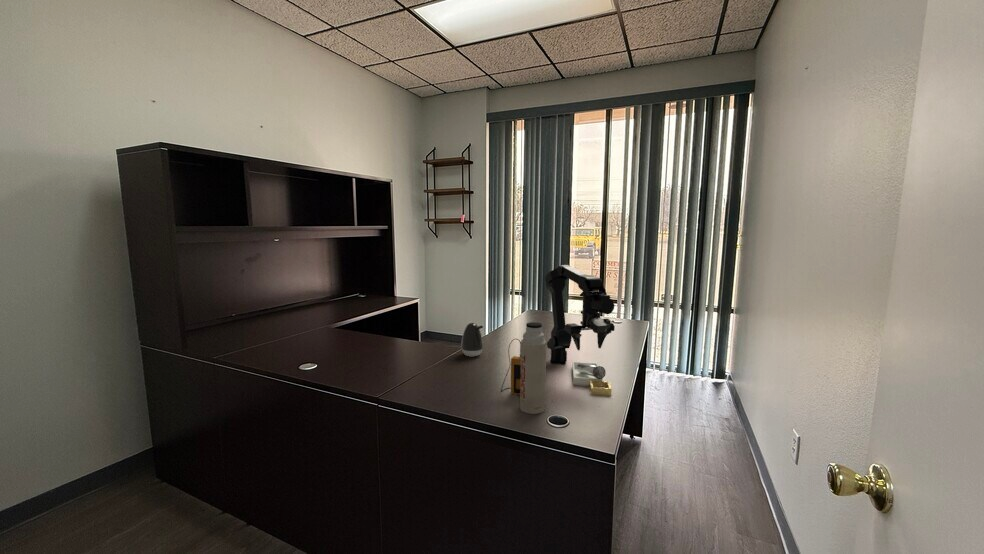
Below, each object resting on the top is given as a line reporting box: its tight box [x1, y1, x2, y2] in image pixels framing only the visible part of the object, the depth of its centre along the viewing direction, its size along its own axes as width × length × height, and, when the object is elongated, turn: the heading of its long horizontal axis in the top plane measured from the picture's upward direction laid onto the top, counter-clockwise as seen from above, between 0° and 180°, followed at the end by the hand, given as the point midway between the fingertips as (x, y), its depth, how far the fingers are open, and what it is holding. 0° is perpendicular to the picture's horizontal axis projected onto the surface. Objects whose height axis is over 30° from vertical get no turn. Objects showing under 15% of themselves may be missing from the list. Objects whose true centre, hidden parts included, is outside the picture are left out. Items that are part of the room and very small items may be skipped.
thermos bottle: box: [519, 321, 547, 415], centre depth 125 cm, size 8×8×28 cm
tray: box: [571, 361, 603, 387], centre depth 153 cm, size 10×18×3 cm, turn 170°
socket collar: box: [589, 380, 612, 397], centre depth 140 cm, size 7×7×2 cm
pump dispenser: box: [460, 322, 484, 358], centre depth 180 cm, size 10×10×15 cm
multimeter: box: [500, 338, 521, 396], centre depth 140 cm, size 15×10×20 cm
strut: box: [577, 362, 607, 380], centre depth 150 cm, size 5×5×14 cm
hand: (589, 349), depth 151 cm, fingers open, 9 cm apart
